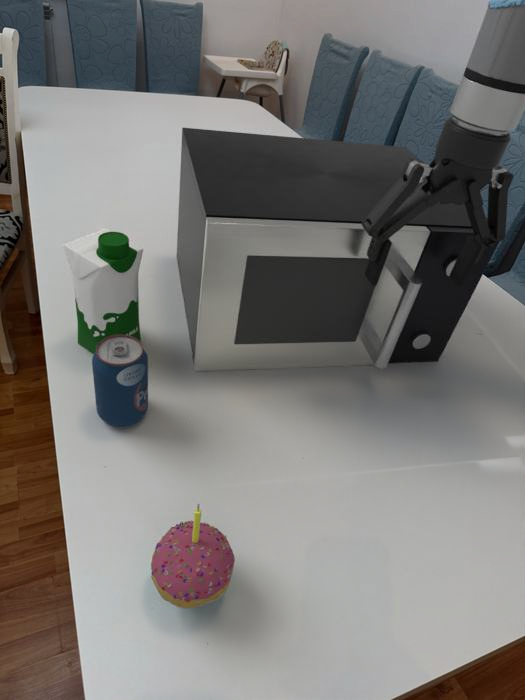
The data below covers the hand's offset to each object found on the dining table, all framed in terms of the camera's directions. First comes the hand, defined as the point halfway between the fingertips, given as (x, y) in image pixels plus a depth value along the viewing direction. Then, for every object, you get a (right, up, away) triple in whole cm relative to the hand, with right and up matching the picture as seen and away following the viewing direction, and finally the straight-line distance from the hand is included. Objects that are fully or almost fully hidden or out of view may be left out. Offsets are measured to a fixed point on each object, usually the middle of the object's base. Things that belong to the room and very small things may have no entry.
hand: (414, 280), depth 70 cm
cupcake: (-29, -35, -16) cm, 49 cm away
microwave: (-15, -1, +26) cm, 30 cm away
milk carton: (-46, -9, +10) cm, 48 cm away
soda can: (-41, -19, 0) cm, 45 cm away
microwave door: (-16, -14, +11) cm, 24 cm away
